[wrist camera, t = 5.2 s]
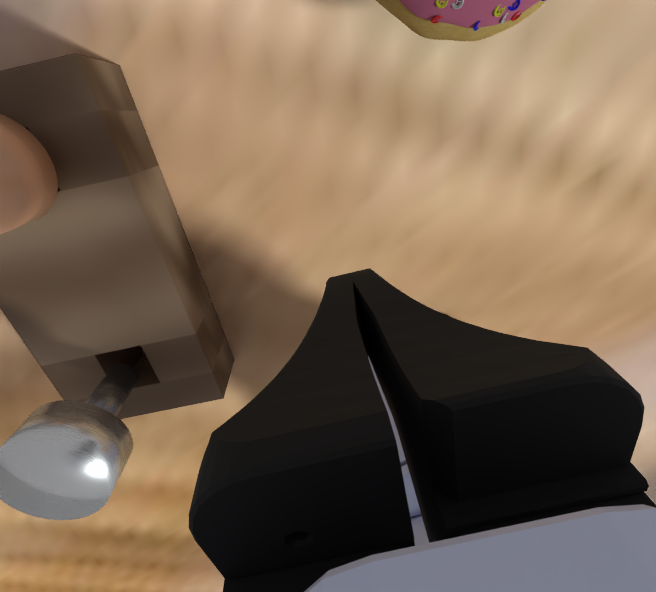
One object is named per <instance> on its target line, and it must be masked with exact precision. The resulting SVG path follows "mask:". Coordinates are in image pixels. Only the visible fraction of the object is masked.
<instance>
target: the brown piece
mask: <svg viewBox="0 0 656 592" xmlns="http://www.w3.org/2000/svg"><path fill="white" fill-rule="evenodd" d="M0 114H2V115H5V116H7V117H9V118H11V119H13V120H14V121H16V122H18V123H19V124H21V125H22V126H23V127H25V128H26V129H27V130H28V131H29V132H31V133H32V134H33V135H34V136H35V137H36V138H37V140H38V141H39V142H40V143H41V144H42V146H43V147H44V148H45V150H46V151H47V153H48V155H49V156H50V158H51V160H52V163H53V165H54V168H55V171H56V175H57V180H58V187H59V188H58V191H57V196H56V200H55V202H54V204H53V206H52V208H51V209H50V210H49V211H48V212H47V214H46V215H44V216H43V217H41V218H39V219H37V220H35V221H33V222H30V223H28V224H25V225H23V226H20V227H18V228H15V229H13V230H10V231H8V232H5V233H3V234H0V308H1V310H2V311H3V313H4V314H5V316H6V317H7V318H8V320H9V321H10V323H11V324H12V326H13V327H14V329H15V330H16V331H17V333H18V334H19V336H20V337H21V339H22V340H23V342H24V343H25V345H26V346H27V347H28V349H29V350H30V352H31V353H32V355H33V356H34V358H35V359H36V361H37V362H38V363H39V365H40V366H41V368H42V369H43V371H44V372H45V374H46V375H47V377H48V378H49V379H50V381H51V382H52V384H53V385H54V387H55V388H56V390H57V391H58V392H59V394H60V395H61V397H62V398H63V400H64V401H65V400H70V401H81V402H86V400H87V399H88V398H89V396H90V395H91V394H92V392H93V391H94V390H95V388H96V387H97V386H98V384H99V383H100V382H101V380H102V379H103V378H104V376H105V375H106V374H107V372H108V371H109V370H110V369H111V367H113V366H114V365H117V364H125V365H129V366H131V367H132V368H134V369H135V370H136V371H137V373H138V376H139V379H138V382H137V383H136V385H135V387H134V388H133V390H132V391H131V393H130V395H129V396H128V398H127V399H126V401H125V403H124V404H123V406H122V408H121V409H120V411H119V412H118V414H117V417H118V418H119V419H123V418H128V417H133V416H138V415H143V414H148V413H153V412H158V411H163V410H168V409H173V408H178V407H183V406H188V405H193V404H198V403H203V402H208V401H213V400H217V399H222V398H224V395H225V391H226V387H227V384H228V380H229V377H230V373H231V369H232V366H233V362H234V358H233V355H232V353H231V350H230V348H229V345H228V343H227V340H226V337H225V335H224V332H223V330H222V327H221V325H220V322H219V319H218V317H217V314H216V312H215V309H214V307H213V304H212V301H211V299H210V296H209V294H208V291H207V289H206V286H205V283H204V281H203V278H202V276H201V273H200V271H199V268H198V265H197V263H196V260H195V258H194V255H193V253H192V250H191V247H190V245H189V242H188V240H187V237H186V235H185V232H184V229H183V227H182V224H181V222H180V219H179V217H178V214H177V211H176V209H175V206H174V204H173V201H172V199H171V196H170V193H169V191H168V188H167V186H166V183H165V181H164V178H163V175H162V173H161V170H160V168H159V165H158V163H157V160H156V157H155V155H154V152H153V150H152V147H151V145H150V142H149V139H148V137H147V134H146V132H145V129H144V127H143V124H142V121H141V119H140V116H139V114H138V111H137V109H136V106H135V103H134V101H133V98H132V96H131V93H130V91H129V88H128V85H127V83H126V80H125V78H124V75H123V73H122V70H121V67H120V65H116V64H113V63H109V62H105V61H101V60H98V59H94V58H90V57H86V56H83V55H79V54H71V55H66V56H62V57H58V58H54V59H49V60H45V61H41V62H37V63H32V64H28V65H24V66H20V67H15V68H11V69H7V70H3V71H0ZM140 345H141V347H142V348H143V350H144V352H145V353H142V352H141V350H140V348H139V346H140Z"/></svg>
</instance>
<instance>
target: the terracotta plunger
mask: <svg viewBox="0 0 656 592" xmlns="http://www.w3.org/2000/svg"><path fill="white" fill-rule="evenodd" d="M57 191H58V180H57V175H56V171H55V168H54V165H53V163H52V160H51V158H50V156H49V155H48V153H47V151H46V150H45V148H44V147H43V146H42V144H41V143H40V142H39V141H38V140H37V138H36V137H35V136H34V135H33V134H32V133H31V132H29V131H28V130H27V129H26V128H25V127H23V126H22V125H21V124H19V123H18V122H16V121H14V120H13V119H11V118H9V117H7V116H5V115H2V114H0V234H3V233H5V232H8V231H10V230H13V229H15V228H18V227H20V226H23V225H25V224H28V223H30V222H33V221H35V220H37V219H39V218H41V217H43V216H44V215H46V214H47V212H48V211H49V210H50V209H51V208H52V206H53V204H54V202H55V200H56V196H57Z"/></svg>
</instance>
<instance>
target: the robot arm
mask: <svg viewBox="0 0 656 592" xmlns="http://www.w3.org/2000/svg"><path fill="white" fill-rule="evenodd" d="M643 414H644V405H643V402H642V399H641V396H640V394H639V393H638V392H637V391H636V390H635V389H634V388H633V387H632V386H631V385H630V384H629V383H628V382H627V381H626V380H625V379H623V378H622V377H621V376H620V375H619V374H618V373H617V372H616V371H615V370H614V369H613V368H611V367H610V366H609V365H608V364H607V363H606V362H604V361H603V360H602V359H601V358H600V357H598V356H597V355H596V354H595V353H593V352H592V351H591V350H589V349H588V348H585V347H578V346H571V345H564V344H557V343H550V342H543V341H536V340H531V339H526V338H522V337H517V336H512V335H508V334H503V333H499V332H495V331H492V330H488V329H484V328H481V327H478V326H475V325H472V324H468V323H465V322H462V321H460V320H457V319H454V318H452V317H449V316H447V315H445V314H442V313H440V312H437V311H435V310H433V309H431V308H429V307H427V306H425V305H423V304H421V303H419V302H417V301H416V300H414V299H412V298H410V297H409V296H407V295H406V294H404V293H403V292H401V291H400V290H398V289H397V288H395V287H394V286H392V285H391V284H389V283H388V282H387V281H385V280H384V279H383V278H382V277H380V276H379V275H378V274H377V273H375V272H374V271H373V270H371V269H370V268H369V269H365V270H361V271H356V272H352V273H348V274H344V275H339V276H335V277H331V278H329V279H328V281H327V282H326V288H325V292H324V295H323V298H322V301H321V304H320V306H319V309H318V311H317V314H316V316H315V318H314V320H313V322H312V324H311V326H310V328H309V330H308V332H307V334H306V336H305V338H304V339H303V341H302V343H301V344H300V346H299V347H298V349H297V350H296V352H295V353H294V355H293V356H292V357H291V359H290V360H289V361H288V363H287V364H286V365H285V366H284V367H283V369H282V370H281V371H280V372H279V374H278V375H277V376H276V377H275V378H274V379H273V380H272V381H271V382H270V383H269V384H268V385H267V386H266V387H265V388H264V389H263V390H262V391H261V392H260V393H259V394H258V395H257V396H256V397H255V398H254V399H253V400H252V401H251V402H249V403H248V404H247V405H246V406H245V407H244V408H243V409H241V410H240V411H239V412H238V413H236V414H235V415H234V416H233V417H231V418H230V419H229V420H228V421H226V422H225V423H224V424H223V425H221V426H220V427H219V428H218V429H216V430H215V431H213V432H212V434H211V437H210V440H209V443H208V446H207V449H206V451H205V454H204V457H203V460H202V463H201V466H200V470H199V474H198V478H197V482H196V487H195V491H194V495H193V499H192V504H191V508H190V512H189V529H190V531H191V533H192V535H193V537H194V539H195V541H196V542H197V543H198V545H199V546H200V547H201V549H202V550H203V551H204V552H205V554H206V555H207V556H208V557H209V559H210V560H211V561H212V563H213V564H214V565H215V566H216V568H217V569H218V570H219V571H220V573H221V574H222V575H223V577H224V578H225V580H224V588H223V592H656V505H655V504H654V503H653V502H652V501H651V499H650V498H649V497H648V496H647V495H646V494H645V493H644V491H647V489H648V487H649V485H648V483H647V480H646V479H645V478H644V477H643V476H642V474H641V473H640V472H639V471H638V470H637V469H636V468H635V467H634V466H633V464H632V463H631V462H630V460H631V457H632V454H633V451H634V448H635V445H636V442H637V439H638V436H639V433H640V430H641V427H642V421H643Z"/></svg>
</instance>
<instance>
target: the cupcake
mask: <svg viewBox="0 0 656 592" xmlns="http://www.w3.org/2000/svg"><path fill="white" fill-rule="evenodd" d="M376 1H377V2H378V3H380V4H381V5H382V6H383V7H384V8H386V9H387V10H388V11H389V12H390V13H391V14H393V15H394V16H395V17H397V18H398V19H399V20H400V21H402V22H403V23H404V24H405V25H406V26H407V27H409V28H410V29H411V30H412V31H414V32H415V33H417V34H418V35H420V36H422V37H425V38H429V39H437V40H455V41H476V40H481V39H485V38H487V37H490V36H492V35H495V34H497V33H499V32H502V31H504V30H506V29H508V28H510V27H512V26H514V25H515V24H517V23H519V22H520V21H522V20H523V19H525V18H526V17H528V16H529V15H530V14H532V13H533V12H534V11H535V10H537V9H538V8H539V7H540V6H541V5H542V4H543V3H544V2H545V1H546V0H376Z"/></svg>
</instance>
